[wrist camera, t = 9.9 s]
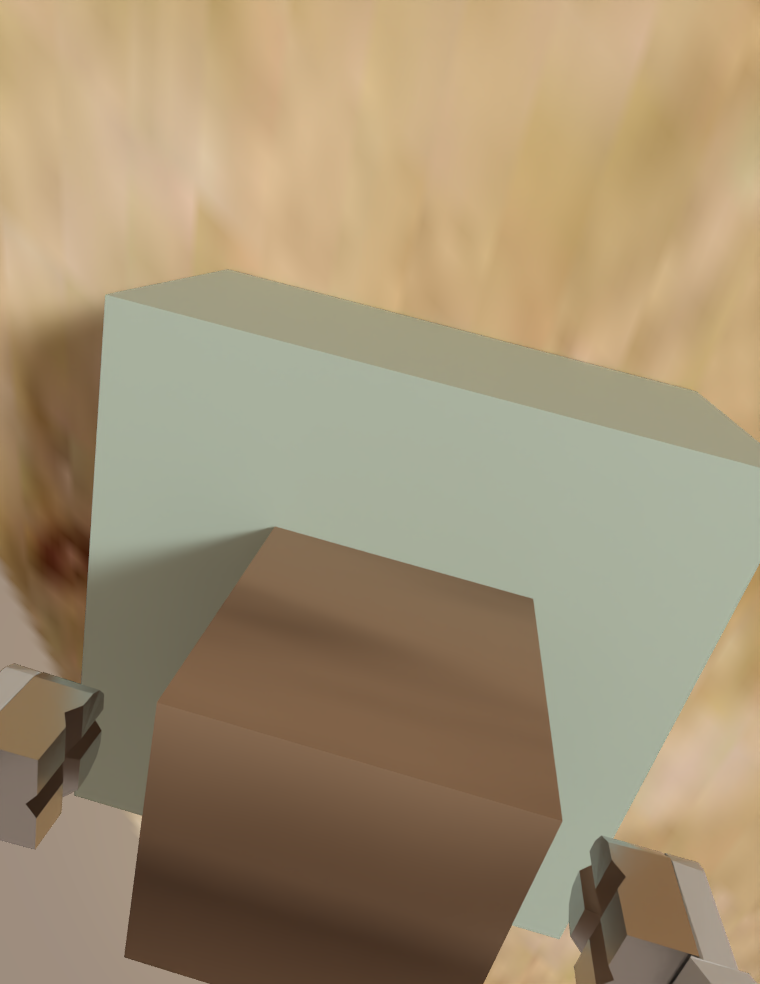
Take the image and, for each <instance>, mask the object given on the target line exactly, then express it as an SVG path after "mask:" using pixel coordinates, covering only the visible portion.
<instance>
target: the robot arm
mask: <svg viewBox="0 0 760 984" xmlns="http://www.w3.org/2000/svg"><path fill="white" fill-rule="evenodd" d="M103 707H104V693H103V692H101V691H100V690H98V689H95V688H92V687H88V686H85V685H82V684H79V683H76V682H73V681H70V680H66V679H63V678H60V677H57V676H54V675H50V674H48V673H44V672H43V673H42V672H39V671H36V670H33V669H30V668H27V667H24V666H21V665H18V664H12V665H9V666H7V667H5V668H3V669H2V670H1V671H0V840H2V841H5V842H9V843H12V844H16V845H20V846H23V847H27V848H31V849H36V847H37V846H38V845H39V843H40V842H41V841H42V839H43V838H44V836H45V835H46V834H47V832H48V831H49V829H50V828H51V827H52V825H53V824H54V823H55V821H56V820H57V818H58V817H59V816H60V814H61V810H62V797H64V796H66V795H68V794H70V793H72V792H74V791H76V790H78V789H79V787H80V786H81V784H82V783H83V781H84V780H85V779H86V777H87V776H88V774H89V772H90V770H91V768H92V765H93V763H94V761H95V759H96V757H97V754H98V750H99V746H100V742H101V733H102V730H101V729H100V727H99V725H98V724H97V722H96V718H97V717H98V716H99V715H100V713H101V712H102V711H103ZM589 852H590V858H591V865H590V866H588V867H586V868H584V869H582V870H580V871H579V872H578V875H577V877H576V879H575V881H574V883H573V886H572V890H571V896H570V901H569V928H570V937H571V938H572V940H573V941H574V943H575V944H576V946H577V947H578V949H579V950H580V952H581V955H580V957H579V958H578V960H577V962H576V964H575V966H574V970H575V978H576V984H757V982H756V981H755V980H754V979H753V978H752V977H751V975H750V974H749V973H746V972H743V971H740V970H738V967H737V964H736V961H735V958H734V955H733V952H732V949H731V946H730V944H729V941H728V938H727V935H726V932H725V929H724V926H723V923H722V921H721V918H720V915H719V912H718V909H717V906H716V903H715V900H714V898H713V895H712V892H711V889H710V886H709V883H708V880H707V877H706V875H705V872H704V869H703V868H702V867H701V865H700V864H699V863H698V862H695V861H691V860H688V859H684V858H680V857H677V856H673V855H670V854H666V853H665V854H663V853H662V852H659V851H656V850H652V849H648V848H645V847H641V846H638V845H634V844H630V843H627V842H623V841H620V840H616V839H613V838H609V837H605V836H602V835H601V836H600V837H599V838H598V839H596V840H595V842H594V844H593V845H592V847H591V849H590V851H589Z"/></svg>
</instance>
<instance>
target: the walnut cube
mask: <svg viewBox="0 0 760 984" xmlns="http://www.w3.org/2000/svg"><path fill="white" fill-rule="evenodd" d="M562 821H563V820H562V813H561V805H560V798H559V790H558V783H557V775H556V767H555V760H554V752H553V745H552V737H551V730H550V722H549V715H548V707H547V699H546V692H545V684H544V677H543V669H542V662H541V654H540V647H539V639H538V631H537V624H536V616H535V609H534V601H533V599H532V598H529V597H525V596H521V595H518V594H514V593H511V592H507V591H504V590H500V589H496V588H493V587H489V586H486V585H482V584H479V583H475V582H471V581H468V580H464V579H461V578H457V577H454V576H450V575H447V574H443V573H439V572H436V571H432V570H429V569H425V568H422V567H418V566H414V565H411V564H407V563H404V562H400V561H397V560H393V559H390V558H386V557H382V556H379V555H375V554H372V553H368V552H365V551H361V550H357V549H354V548H350V547H347V546H343V545H340V544H336V543H332V542H329V541H325V540H322V539H318V538H315V537H311V536H308V535H304V534H300V533H297V532H293V531H290V530H286V529H283V528H279V527H274V529H273V530H272V531H271V533H270V534H269V536H268V537H267V539H266V540H265V542H264V543H263V545H262V546H261V548H260V549H259V551H258V552H257V554H256V555H255V557H254V558H253V560H252V561H251V563H250V564H249V566H248V567H247V569H246V570H245V572H244V573H243V575H242V576H241V578H240V579H239V581H238V582H237V584H236V585H235V587H234V588H233V590H232V591H231V593H230V594H229V596H228V597H227V599H226V600H225V601H224V603H223V604H222V606H221V607H220V609H219V610H218V612H217V613H216V615H215V616H214V618H213V619H212V621H211V622H210V624H209V625H208V627H207V628H206V630H205V631H204V633H203V634H202V636H201V637H200V639H199V640H198V642H197V643H196V645H195V646H194V648H193V649H192V651H191V652H190V654H189V655H188V657H187V658H186V660H185V661H184V663H183V664H182V666H181V667H180V669H179V670H178V672H177V673H176V674H175V676H174V677H173V679H172V680H171V682H170V683H169V685H168V686H167V688H166V689H165V691H164V692H163V694H162V695H161V697H160V698H159V700H158V701H157V705H156V713H155V721H154V728H153V736H152V744H151V752H150V760H149V767H148V775H147V783H146V791H145V799H144V807H143V814H142V822H141V830H140V838H139V846H138V854H137V861H136V869H135V877H134V885H133V893H132V901H131V908H130V916H129V924H128V932H127V940H126V947H125V955H124V957H125V958H128V959H131V960H135V961H138V962H142V963H144V964H148V965H151V966H154V967H157V968H161V969H164V970H167V971H170V972H174V973H177V974H180V975H183V976H187V977H190V978H193V979H196V980H199V981H203V982H206V983H209V984H483V983H484V981H485V979H486V977H487V975H488V973H489V971H490V969H491V967H492V965H493V963H494V961H495V959H496V956H497V954H498V952H499V950H500V948H501V946H502V944H503V942H504V940H505V938H506V936H507V934H508V932H509V930H510V928H511V926H512V924H513V922H514V920H515V918H516V916H517V913H518V911H519V909H520V907H521V905H522V903H523V901H524V899H525V897H526V895H527V893H528V891H529V889H530V887H531V885H532V883H533V881H534V879H535V877H536V875H537V873H538V871H539V868H540V866H541V864H542V862H543V860H544V858H545V856H546V854H547V852H548V850H549V848H550V846H551V844H552V842H553V840H554V838H555V836H556V834H557V832H558V830H559V828H560V825H561V823H562Z"/></svg>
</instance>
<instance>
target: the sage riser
mask: <svg viewBox="0 0 760 984" xmlns="http://www.w3.org/2000/svg"><path fill="white" fill-rule="evenodd" d="M274 527H279V528H283V529H286V530H290V531H293V532H297V533H300V534H304V535H308V536H311V537H315V538H318V539H322V540H325V541H329V542H332V543H336V544H340V545H343V546H347V547H350V548H354V549H357V550H361V551H365V552H368V553H372V554H375V555H379V556H382V557H386V558H390V559H393V560H397V561H400V562H404V563H407V564H411V565H414V566H418V567H422V568H425V569H429V570H432V571H436V572H439V573H443V574H447V575H450V576H454V577H457V578H461V579H464V580H468V581H471V582H475V583H479V584H482V585H486V586H489V587H493V588H496V589H500V590H504V591H507V592H511V593H514V594H518V595H521V596H525V597H529V598H532V599H533V601H534V609H535V616H536V624H537V631H538V639H539V647H540V654H541V662H542V669H543V677H544V684H545V692H546V699H547V707H548V715H549V722H550V730H551V737H552V745H553V752H554V760H555V767H556V775H557V783H558V790H559V798H560V805H561V813H562V820H563V821H562V823H561V825H560V828H559V830H558V832H557V834H556V836H555V838H554V840H553V842H552V844H551V846H550V848H549V850H548V852H547V854H546V856H545V858H544V860H543V862H542V864H541V866H540V868H539V871H538V873H537V875H536V877H535V879H534V881H533V883H532V885H531V887H530V889H529V891H528V893H527V895H526V897H525V899H524V901H523V903H522V905H521V907H520V909H519V911H518V913H517V916H516V918H515V920H514V922H513V924H512V925H513V926H516V927H520V928H523V929H526V930H530V931H533V932H537V933H540V934H543V935H547V936H550V937H553V938H557V939H560V937H561V935H562V934H563V932H564V930H565V928H566V926H567V924H568V922H569V901H570V896H571V890H572V886H573V883H574V881H575V879H576V877H577V875H578V872H579V871H580V870H582V869H584V868H586V867H588V866H590V865H591V858H590V852H589V851H590V849H591V847H592V845H593V844H594V842H595V840H596V839H598V838H599V837H600V836H601V835H602V836H605V837H609V838H614V836H615V834H616V832H617V830H618V828H619V826H620V825H621V823H622V821H623V819H624V817H625V815H626V813H627V811H628V810H629V808H630V806H631V804H632V802H633V800H634V798H635V796H636V794H637V793H638V791H639V789H640V787H641V785H642V783H643V781H644V779H645V778H646V776H647V774H648V772H649V770H650V768H651V766H652V764H653V763H654V761H655V759H656V757H657V755H658V753H659V751H660V749H661V748H662V746H663V744H664V742H665V740H666V738H667V736H668V734H669V732H670V731H671V729H672V727H673V725H674V723H675V721H676V719H677V717H678V716H679V714H680V712H681V710H682V708H683V706H684V704H685V702H686V701H687V699H688V697H689V695H690V693H691V691H692V689H693V687H694V686H695V684H696V682H697V680H698V678H699V676H700V674H701V672H702V670H703V669H704V667H705V665H706V663H707V661H708V659H709V657H710V655H711V654H712V652H713V650H714V648H715V646H716V644H717V642H718V640H719V639H720V637H721V635H722V633H723V631H724V629H725V627H726V625H727V624H728V622H729V620H730V618H731V616H732V614H733V612H734V610H735V608H736V607H737V605H738V603H739V601H740V599H741V597H742V595H743V593H744V592H745V590H746V588H747V586H748V584H749V582H750V580H751V578H752V577H753V575H754V573H755V571H756V569H757V567H758V565H759V563H760V443H759V442H758V441H757V440H755V439H754V438H753V437H752V436H750V435H749V434H748V433H747V432H746V431H744V430H743V429H742V428H741V427H739V426H738V425H737V424H736V423H734V422H733V421H732V420H731V419H730V418H728V417H727V416H726V415H725V414H723V413H722V412H721V411H720V410H719V409H717V408H716V407H715V406H714V405H712V404H711V403H710V402H709V401H708V400H706V399H705V398H704V397H703V396H701V395H700V394H699V393H698V392H696V391H692V390H689V389H685V388H681V387H677V386H673V385H669V384H666V383H662V382H658V381H654V380H650V379H646V378H643V377H639V376H635V375H631V374H627V373H623V372H620V371H616V370H612V369H608V368H604V367H600V366H597V365H593V364H589V363H585V362H581V361H577V360H574V359H570V358H566V357H562V356H558V355H554V354H551V353H547V352H543V351H539V350H535V349H531V348H528V347H524V346H520V345H516V344H512V343H508V342H505V341H501V340H497V339H493V338H489V337H485V336H482V335H478V334H474V333H470V332H466V331H462V330H459V329H455V328H451V327H447V326H443V325H440V324H436V323H432V322H428V321H424V320H420V319H417V318H413V317H409V316H405V315H401V314H397V313H394V312H390V311H386V310H382V309H378V308H374V307H371V306H367V305H363V304H359V303H355V302H351V301H348V300H344V299H340V298H336V297H332V296H328V295H325V294H321V293H317V292H313V291H309V290H305V289H302V288H298V287H294V286H290V285H286V284H282V283H279V282H275V281H271V280H267V279H263V278H259V277H256V276H252V275H248V274H244V273H240V272H236V271H233V270H229V269H227V270H222V271H217V272H213V273H208V274H203V275H198V276H193V277H188V278H183V279H178V280H174V281H169V282H164V283H159V284H154V285H149V286H144V287H140V288H135V289H130V290H125V291H120V292H115V293H110V294H106V295H105V308H104V324H103V340H102V356H101V373H100V389H99V405H98V421H97V437H96V453H95V469H94V485H93V501H92V517H91V533H90V549H89V565H88V581H87V597H86V613H85V630H84V646H83V662H82V678H81V684H82V685H85V686H88V687H92V688H95V689H98V690H100V691H101V692H103V693H104V707H103V711H102V712H101V713H100V715H99V716H98V717H97V718H96V722H97V724H98V725H99V727H100V729H101V730H102V733H101V742H100V746H99V750H98V754H97V757H96V759H95V761H94V763H93V765H92V768H91V770H90V772H89V774H88V776H87V777H86V779H85V780H84V781H83V783H82V784H81V786H80V787H79V789H78V790H76V791H74V795H75V796H78V797H81V798H85V799H88V800H91V801H95V802H98V803H102V804H105V805H108V806H112V807H115V808H118V809H122V810H125V811H128V812H132V813H135V814H139V815H142V814H143V807H144V799H145V791H146V783H147V775H148V767H149V760H150V752H151V744H152V736H153V728H154V721H155V713H156V705H157V701H158V700H159V698H160V697H161V695H162V694H163V692H164V691H165V689H166V688H167V686H168V685H169V683H170V682H171V680H172V679H173V677H174V676H175V674H176V673H177V672H178V670H179V669H180V667H181V666H182V664H183V663H184V661H185V660H186V658H187V657H188V655H189V654H190V652H191V651H192V649H193V648H194V646H195V645H196V643H197V642H198V640H199V639H200V637H201V636H202V634H203V633H204V631H205V630H206V628H207V627H208V625H209V624H210V622H211V621H212V619H213V618H214V616H215V615H216V613H217V612H218V610H219V609H220V607H221V606H222V604H223V603H224V601H225V600H226V599H227V597H228V596H229V594H230V593H231V591H232V590H233V588H234V587H235V585H236V584H237V582H238V581H239V579H240V578H241V576H242V575H243V573H244V572H245V570H246V569H247V567H248V566H249V564H250V563H251V561H252V560H253V558H254V557H255V555H256V554H257V552H258V551H259V549H260V548H261V546H262V545H263V543H264V542H265V540H266V539H267V537H268V536H269V534H270V533H271V531H272V530H273V529H274Z"/></svg>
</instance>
